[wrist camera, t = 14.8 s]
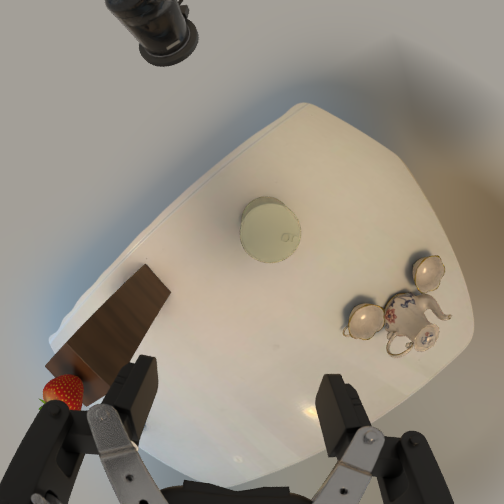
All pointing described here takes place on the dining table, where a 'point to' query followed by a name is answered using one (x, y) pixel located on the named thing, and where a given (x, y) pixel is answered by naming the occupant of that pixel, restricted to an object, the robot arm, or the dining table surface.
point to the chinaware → (404, 311)
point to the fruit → (65, 391)
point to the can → (269, 230)
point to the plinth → (111, 335)
